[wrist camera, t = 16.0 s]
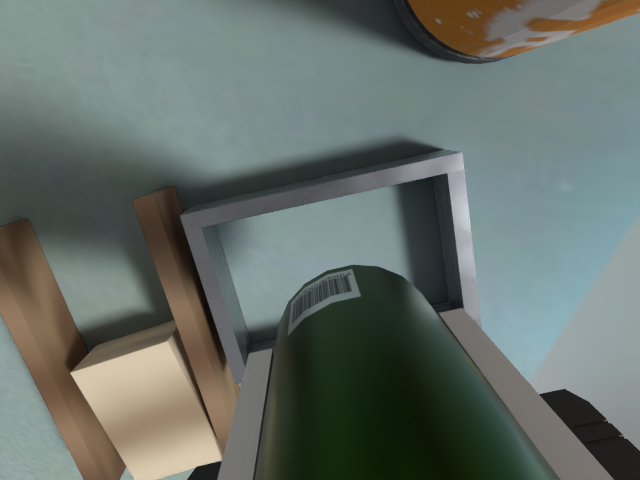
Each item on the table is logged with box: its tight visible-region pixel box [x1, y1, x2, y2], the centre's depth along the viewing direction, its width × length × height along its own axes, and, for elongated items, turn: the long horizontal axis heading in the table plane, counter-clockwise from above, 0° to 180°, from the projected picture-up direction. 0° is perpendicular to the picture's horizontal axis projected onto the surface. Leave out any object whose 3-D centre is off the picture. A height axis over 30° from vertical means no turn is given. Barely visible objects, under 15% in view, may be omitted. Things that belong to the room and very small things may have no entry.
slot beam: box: [0, 186, 240, 480], centre depth 21 cm, size 16×9×3 cm, turn 12°
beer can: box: [254, 265, 560, 480], centre depth 8 cm, size 5×5×12 cm
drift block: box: [70, 320, 223, 480], centre depth 23 cm, size 8×6×3 cm
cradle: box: [180, 149, 482, 384], centre depth 21 cm, size 14×10×2 cm
